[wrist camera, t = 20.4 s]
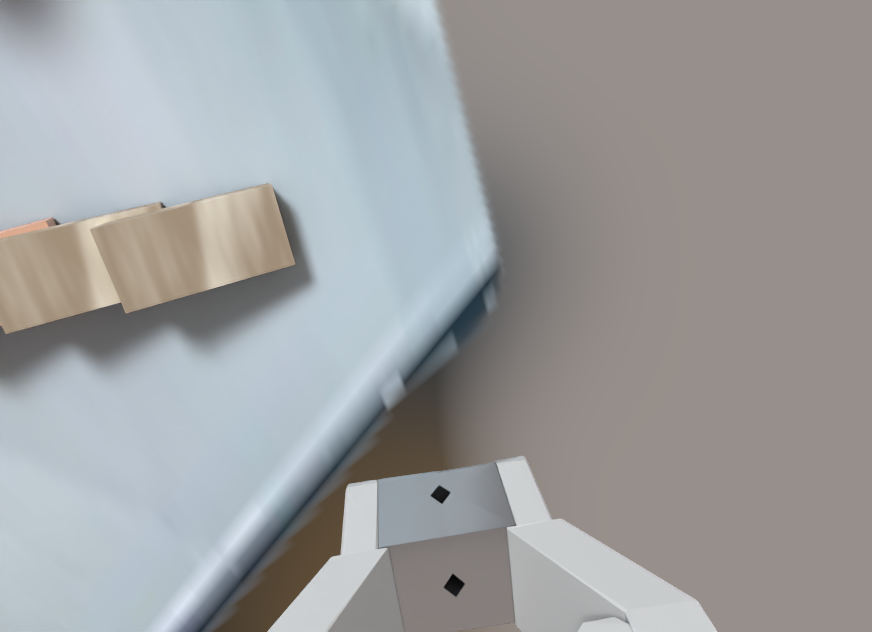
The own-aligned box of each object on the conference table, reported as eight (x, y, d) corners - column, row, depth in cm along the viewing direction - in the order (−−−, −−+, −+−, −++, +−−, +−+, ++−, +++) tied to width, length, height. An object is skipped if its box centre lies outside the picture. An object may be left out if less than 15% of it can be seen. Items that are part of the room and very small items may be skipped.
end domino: (290, 258, 37) (128, 304, 34) (267, 183, 35) (94, 224, 32) (295, 264, 35) (125, 313, 32) (272, 185, 34) (89, 229, 31)
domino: (187, 277, 37) (14, 324, 34) (160, 201, 35) (-26, 244, 32) (188, 283, 35) (5, 334, 32) (159, 204, 33) (-37, 250, 30)
